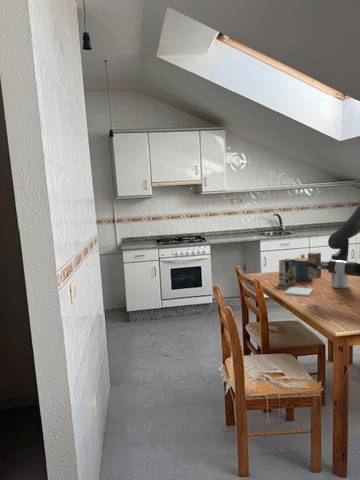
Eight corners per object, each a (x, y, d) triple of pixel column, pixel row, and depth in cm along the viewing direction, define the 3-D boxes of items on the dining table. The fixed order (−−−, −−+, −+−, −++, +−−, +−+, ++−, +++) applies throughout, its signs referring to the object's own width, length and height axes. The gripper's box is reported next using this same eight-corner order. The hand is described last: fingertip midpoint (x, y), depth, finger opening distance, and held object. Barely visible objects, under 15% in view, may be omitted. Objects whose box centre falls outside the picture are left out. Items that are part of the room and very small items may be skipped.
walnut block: (312, 276, 214) (312, 251, 212) (321, 277, 210) (320, 252, 209) (308, 277, 211) (307, 253, 209) (316, 278, 207) (315, 254, 205)
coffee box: (286, 285, 244) (286, 261, 242) (278, 283, 249) (278, 260, 248) (295, 283, 249) (295, 259, 247) (288, 281, 254) (287, 258, 252)
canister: (316, 278, 259) (316, 253, 257) (308, 282, 249) (307, 256, 247) (298, 276, 268) (298, 252, 266) (289, 280, 258) (289, 255, 256)
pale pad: (290, 288, 236) (290, 286, 236) (313, 290, 229) (313, 288, 229) (284, 294, 224) (284, 292, 224) (308, 296, 217) (308, 294, 217)
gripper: (345, 258, 203) (316, 255, 216) (332, 262, 194) (302, 259, 207) (345, 271, 204) (316, 268, 217) (332, 276, 195) (303, 272, 208)
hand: (310, 263), depth 212 cm, fingers closed on walnut block, 5 cm apart
